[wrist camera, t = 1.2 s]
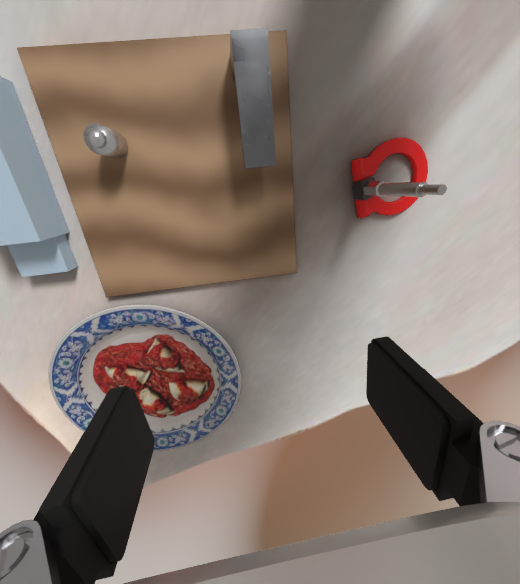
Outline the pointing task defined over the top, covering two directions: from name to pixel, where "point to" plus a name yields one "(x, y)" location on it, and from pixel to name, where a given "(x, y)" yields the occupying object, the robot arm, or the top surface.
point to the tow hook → (371, 190)
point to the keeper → (253, 96)
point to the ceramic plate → (148, 370)
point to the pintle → (105, 141)
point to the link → (28, 197)
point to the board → (168, 160)
